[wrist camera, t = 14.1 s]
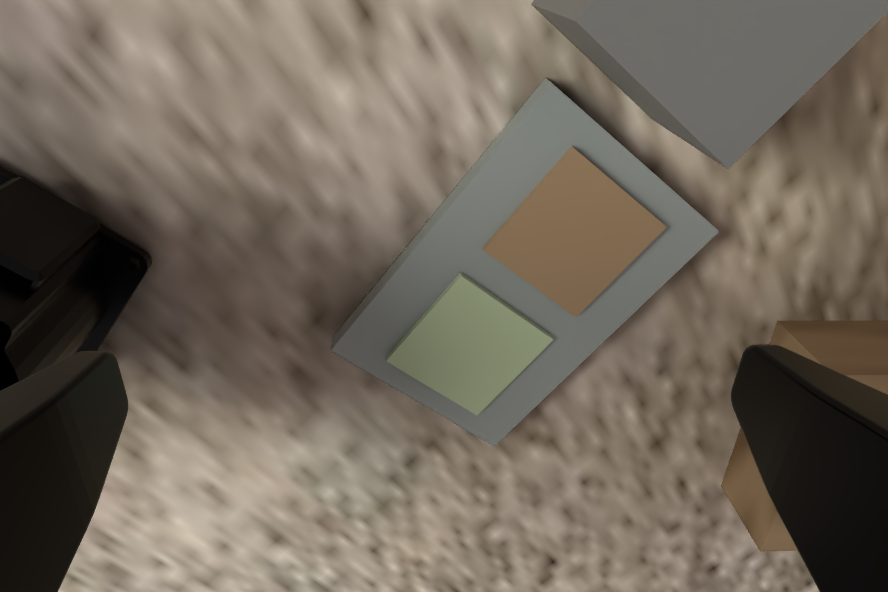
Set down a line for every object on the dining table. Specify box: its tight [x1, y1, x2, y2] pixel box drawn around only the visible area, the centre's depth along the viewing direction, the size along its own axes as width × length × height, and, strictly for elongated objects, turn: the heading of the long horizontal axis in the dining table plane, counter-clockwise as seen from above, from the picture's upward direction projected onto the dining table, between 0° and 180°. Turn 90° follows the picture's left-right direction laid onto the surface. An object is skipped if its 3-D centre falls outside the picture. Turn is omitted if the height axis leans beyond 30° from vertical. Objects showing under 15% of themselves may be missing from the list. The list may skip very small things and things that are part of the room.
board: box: [331, 78, 719, 446], centre depth 22 cm, size 12×8×1 cm, turn 141°
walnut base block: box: [721, 321, 888, 551], centre depth 26 cm, size 9×9×4 cm
